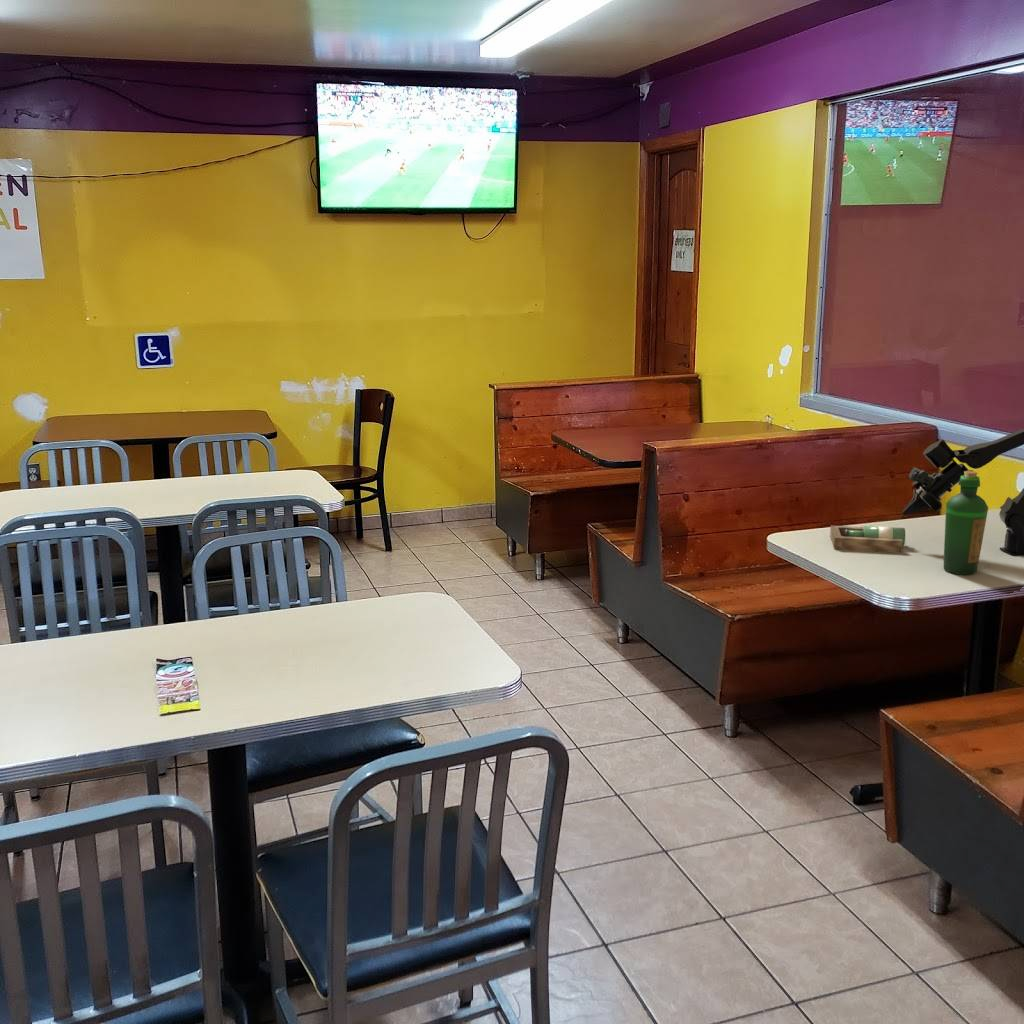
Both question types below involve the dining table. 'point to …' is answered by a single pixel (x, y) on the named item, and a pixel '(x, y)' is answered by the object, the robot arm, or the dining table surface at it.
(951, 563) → the bottle
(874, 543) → the cradle
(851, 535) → the bottle
